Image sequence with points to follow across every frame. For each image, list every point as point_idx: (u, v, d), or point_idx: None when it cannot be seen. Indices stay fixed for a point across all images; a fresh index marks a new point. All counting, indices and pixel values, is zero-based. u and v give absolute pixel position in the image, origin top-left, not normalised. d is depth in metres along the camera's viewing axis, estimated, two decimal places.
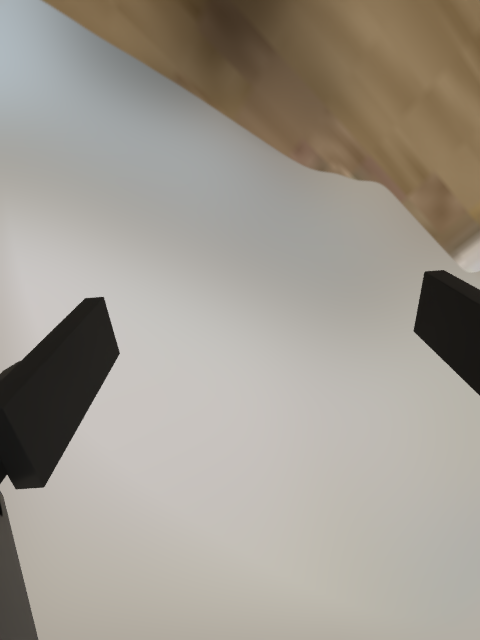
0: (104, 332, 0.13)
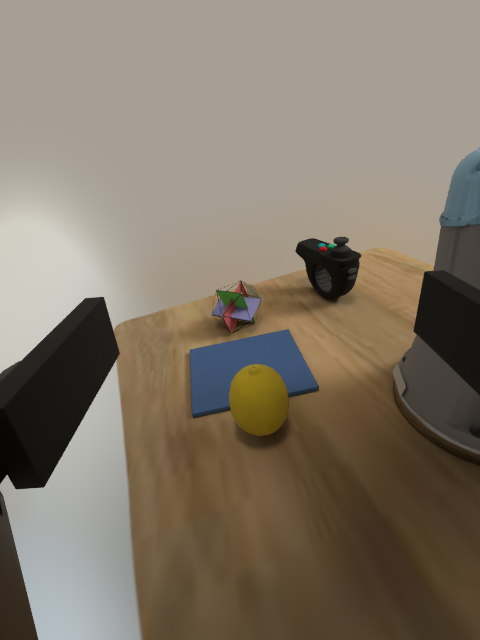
0: (104, 332, 0.13)
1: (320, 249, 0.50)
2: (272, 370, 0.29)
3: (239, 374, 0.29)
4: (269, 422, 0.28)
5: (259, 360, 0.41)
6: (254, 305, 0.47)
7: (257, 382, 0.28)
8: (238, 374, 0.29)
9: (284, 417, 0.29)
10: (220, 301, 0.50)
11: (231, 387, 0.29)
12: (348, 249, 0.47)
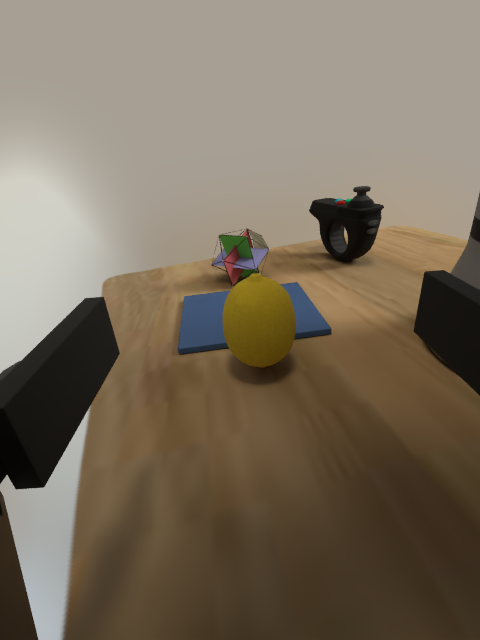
0: (104, 332, 0.13)
1: (337, 202, 0.45)
2: (278, 283, 0.24)
3: (237, 284, 0.24)
4: (270, 343, 0.23)
5: None
6: (260, 255, 0.42)
7: (259, 289, 0.22)
8: (236, 285, 0.24)
9: (289, 342, 0.24)
10: (223, 252, 0.45)
11: (226, 300, 0.24)
12: (369, 199, 0.42)
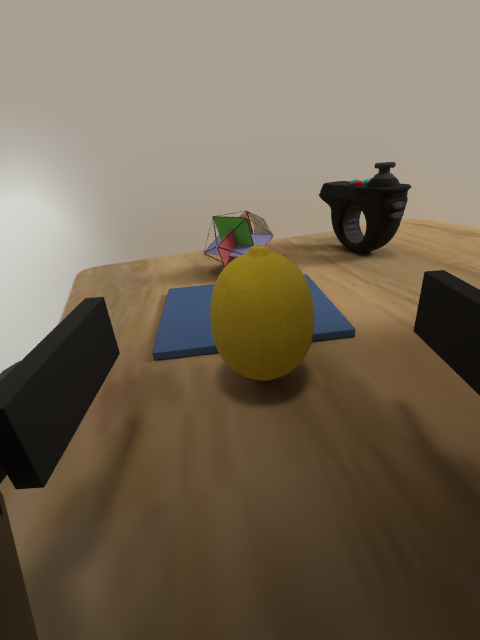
0: (104, 332, 0.13)
1: (354, 183, 0.38)
2: (290, 261, 0.17)
3: (231, 261, 0.17)
4: (279, 346, 0.15)
5: None
6: (262, 241, 0.35)
7: (263, 266, 0.15)
8: (230, 262, 0.17)
9: (305, 345, 0.16)
10: (217, 239, 0.38)
11: (215, 284, 0.17)
12: (394, 177, 0.35)
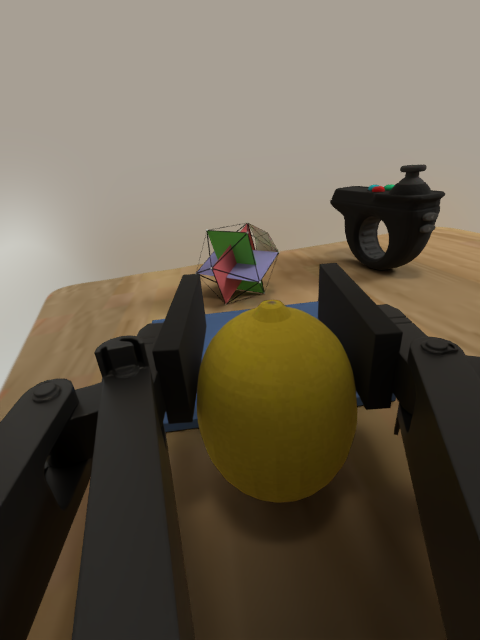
0: (201, 304, 0.15)
1: (374, 189, 0.32)
2: (320, 322, 0.11)
3: (229, 324, 0.11)
4: (307, 470, 0.09)
5: None
6: (266, 260, 0.29)
7: (281, 341, 0.09)
8: (226, 325, 0.11)
9: (345, 456, 0.10)
10: (213, 256, 0.32)
11: (204, 359, 0.11)
12: (424, 183, 0.29)
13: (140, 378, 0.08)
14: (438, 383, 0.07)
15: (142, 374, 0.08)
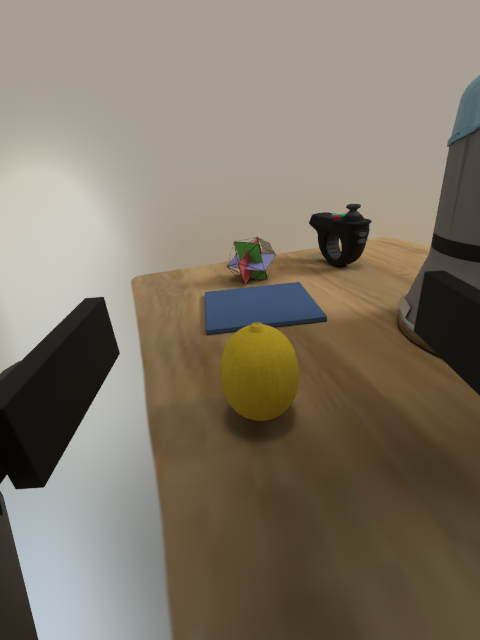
0: (104, 332, 0.13)
1: (333, 216, 0.53)
2: (280, 332, 0.22)
3: (236, 333, 0.22)
4: (272, 399, 0.21)
5: (271, 300, 0.43)
6: (268, 259, 0.50)
7: (260, 341, 0.21)
8: (235, 333, 0.22)
9: (292, 396, 0.22)
10: (236, 256, 0.53)
11: (224, 350, 0.22)
12: (360, 215, 0.50)
13: None
14: None
15: None
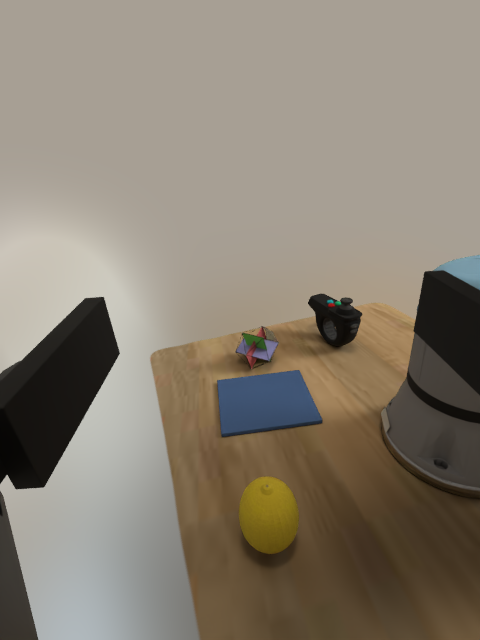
0: (104, 332, 0.13)
1: (329, 305, 0.61)
2: (284, 487, 0.30)
3: (251, 490, 0.29)
4: (278, 545, 0.28)
5: (275, 394, 0.51)
6: (272, 347, 0.58)
7: (270, 504, 0.28)
8: (250, 489, 0.30)
9: (293, 537, 0.29)
10: (243, 341, 0.60)
11: (242, 502, 0.29)
12: (352, 308, 0.57)
13: None
14: None
15: None
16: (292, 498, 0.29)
